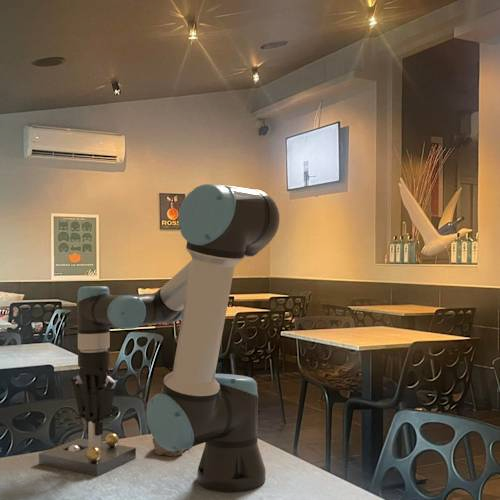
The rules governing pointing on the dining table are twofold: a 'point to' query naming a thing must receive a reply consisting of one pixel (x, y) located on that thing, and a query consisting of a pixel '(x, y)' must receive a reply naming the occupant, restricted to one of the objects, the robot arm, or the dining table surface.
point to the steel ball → (74, 448)
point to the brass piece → (93, 454)
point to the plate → (80, 462)
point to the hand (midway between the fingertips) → (94, 448)
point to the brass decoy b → (112, 439)
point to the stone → (163, 451)
